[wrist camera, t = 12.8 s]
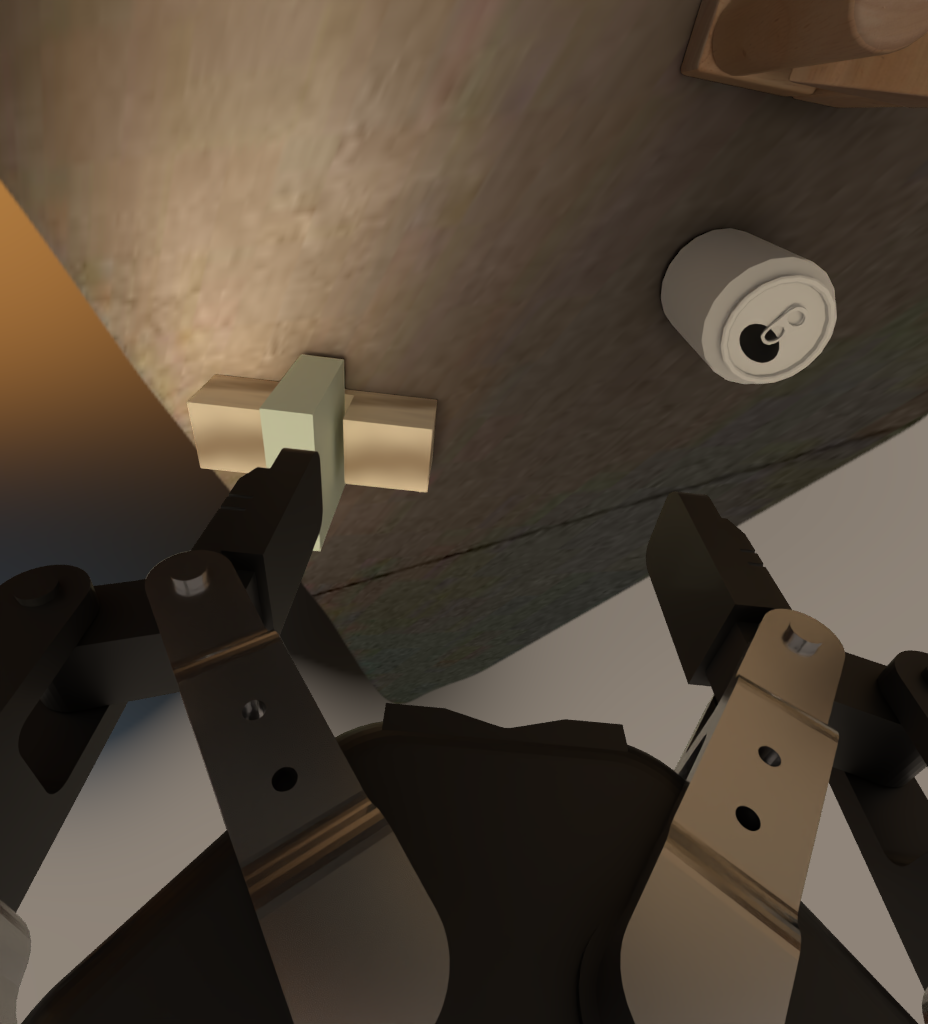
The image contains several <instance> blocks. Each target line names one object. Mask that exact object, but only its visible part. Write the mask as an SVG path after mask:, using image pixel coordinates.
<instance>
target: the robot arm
mask: <svg viewBox="0 0 928 1024" xmlns="http://www.w3.org/2000/svg"><path fill="white" fill-rule="evenodd" d="M322 517H323V501H322V483H321V465H320V456H319V453H318V452H317V451H310V450H301V449H292V448H283V449H282V450H281V451H280V453H279V455H278V456H277V458H276V460H275V461H274V463H273V464H272V466H271V468H262V467H256V468H255V469H253V470H252V471H250V472H249V473H247V474H246V475H244V476H243V477H241V478H240V479H239V480H238V481H237V483H236V484H235V486H234V487H233V489H232V490H231V492H230V493H229V497H227V498H226V499H225V501H224V502H223V503H222V505H221V509H219V510H218V511H217V513H216V514H215V516H214V517H213V518H212V520H211V521H210V523H209V524H208V526H207V527H206V529H205V530H204V532H203V533H202V535H201V536H200V538H199V539H198V541H197V542H196V544H195V545H194V547H193V548H192V550H191V551H187V552H182V553H178V554H176V555H173V556H171V557H169V558H166V559H165V560H163V561H161V562H160V563H159V564H157V565H156V566H155V567H154V568H153V569H152V570H151V571H150V573H149V574H148V575H147V577H146V579H143V580H138V581H131V582H122V583H114V584H106V585H98V586H93V585H92V582H91V580H90V577H89V576H88V574H87V573H86V572H85V571H84V570H82V569H80V568H78V567H74V566H70V565H49V566H44V567H39V568H35V569H31V570H29V571H26V572H23V573H21V574H18V575H16V576H14V577H13V578H11V579H9V580H7V581H6V582H4V583H3V584H2V585H0V1024H17V1018H16V1000H17V995H18V991H19V986H20V984H21V981H22V978H23V975H24V972H25V970H26V967H27V964H28V960H29V956H30V951H31V939H30V932H29V930H28V927H27V925H26V923H25V922H24V921H23V920H22V918H20V917H19V916H18V915H17V914H16V911H17V909H18V908H19V906H20V904H21V902H22V900H23V898H24V896H25V894H26V892H27V891H28V889H29V887H30V885H31V883H32V881H33V879H34V877H35V876H36V874H37V871H38V870H39V868H40V866H41V864H42V862H43V860H44V859H45V857H46V855H47V853H48V851H49V849H50V847H51V845H52V844H53V842H54V840H55V838H56V836H57V834H58V832H59V830H60V828H61V827H62V825H63V823H64V821H65V819H66V817H67V815H68V813H69V812H70V810H71V808H72V806H73V804H74V802H75V800H76V798H77V797H78V794H79V793H80V791H81V789H82V787H83V785H84V783H85V781H86V780H87V778H88V776H89V774H90V772H91V770H92V768H93V766H94V765H95V763H96V761H97V759H98V757H99V755H100V753H101V751H102V749H103V748H104V746H105V744H106V742H107V740H108V738H109V736H110V734H111V733H112V731H113V729H114V727H115V725H116V723H117V721H118V719H119V717H120V716H121V714H122V712H123V710H124V708H125V706H126V704H127V702H128V701H133V700H139V699H143V698H149V697H155V696H160V695H165V694H170V693H176V692H180V694H181V697H182V700H183V703H184V706H185V709H186V712H187V715H188V718H189V721H190V724H191V726H192V729H193V732H194V735H195V738H196V741H197V744H198V747H199V750H200V753H201V755H202V759H203V762H204V765H205V767H206V770H207V773H208V776H209V779H210V782H211V785H212V788H213V791H214V794H215V797H216V800H217V803H218V805H219V809H220V812H221V814H222V817H223V820H224V823H225V826H226V829H227V830H226V831H225V832H224V833H223V834H222V835H221V836H220V837H219V838H218V839H217V840H215V841H214V842H213V843H212V844H211V845H210V846H209V847H208V848H207V849H205V850H204V851H203V852H202V853H201V854H200V855H199V856H198V857H197V858H196V859H195V860H193V861H192V862H191V863H190V864H189V865H188V866H187V867H186V868H185V869H183V870H182V871H181V872H180V873H179V874H178V875H177V876H176V877H175V878H173V879H172V880H171V881H170V882H169V883H168V884H167V885H166V886H165V887H164V888H162V889H161V890H160V891H159V892H158V893H157V894H156V895H155V896H154V897H152V898H151V899H150V900H149V901H148V902H147V903H146V904H145V905H144V906H143V907H141V908H140V910H138V911H137V912H136V913H135V914H134V915H133V916H131V917H130V918H129V919H128V920H127V921H126V922H125V923H124V924H123V925H122V926H120V927H119V928H118V929H117V930H116V931H115V932H114V933H113V934H112V935H111V936H109V937H108V938H107V939H106V940H105V941H104V942H103V943H102V944H101V945H99V946H98V947H97V949H95V950H94V951H93V952H92V953H91V954H89V955H88V956H87V957H86V958H85V959H84V960H83V961H82V962H81V963H80V964H78V965H77V966H76V967H75V968H74V969H73V970H72V971H71V972H70V973H68V975H66V976H65V977H64V978H63V979H62V980H61V981H60V982H59V983H58V984H56V985H55V986H54V987H53V988H52V989H51V990H50V991H49V992H48V993H47V994H46V995H45V997H44V998H42V1000H41V1001H40V1002H39V1003H38V1004H37V1005H36V1006H35V1008H34V1009H33V1010H32V1011H31V1012H30V1013H29V1015H28V1016H27V1017H26V1018H25V1020H24V1021H23V1022H22V1023H21V1024H918V1023H917V1022H916V1021H915V1020H914V1019H913V1018H912V1017H911V1016H910V1014H909V1013H907V1011H906V1010H905V1009H904V1008H903V1007H902V1006H901V1005H900V1004H899V1003H898V1002H897V1001H896V1000H895V999H894V998H893V997H892V996H891V995H890V994H889V993H888V991H886V989H885V988H884V987H882V985H881V984H880V983H879V982H878V981H877V980H876V979H875V978H874V977H873V976H872V975H871V974H870V973H869V972H868V971H867V970H866V968H865V967H864V966H863V965H862V964H861V963H860V962H859V961H858V960H857V959H856V958H855V957H854V956H853V955H852V954H851V953H850V952H849V951H848V950H847V949H846V947H844V945H843V944H842V943H841V942H840V941H839V940H838V939H837V938H836V937H835V936H834V935H833V934H832V933H831V932H830V931H829V930H828V929H827V928H826V927H825V926H824V925H823V923H822V922H821V921H820V920H819V919H818V918H817V917H816V916H815V915H814V914H813V913H812V912H811V911H810V910H809V909H808V908H807V907H806V906H805V905H804V904H803V902H802V901H801V897H802V893H803V889H804V884H805V880H806V876H807V872H808V868H809V863H810V859H811V855H812V850H813V846H814V842H815V838H816V834H817V829H818V825H819V821H820V817H821V812H822V808H823V804H824V800H825V795H826V791H827V787H828V783H829V784H830V786H831V788H832V790H833V792H834V795H835V797H836V799H837V801H838V803H839V805H840V807H841V810H842V812H843V814H844V816H845V819H846V821H847V823H848V825H849V827H850V829H851V832H852V834H853V836H854V838H855V840H856V842H857V844H858V847H859V849H860V851H861V853H862V856H863V858H864V860H865V862H866V864H867V866H868V869H869V871H870V873H871V875H872V877H873V879H874V882H875V884H876V886H877V888H878V890H879V893H880V895H881V896H882V899H883V901H884V903H885V905H886V908H887V910H888V912H889V914H890V917H891V919H892V921H893V923H894V925H895V927H896V929H897V932H898V934H899V936H900V938H901V940H902V943H903V945H904V947H905V949H906V951H907V953H908V956H909V958H910V960H911V962H912V964H913V967H914V969H915V971H916V973H917V975H918V977H919V979H920V982H921V984H922V986H923V988H924V990H925V993H924V995H923V1001H922V1011H923V1018H924V1023H925V1024H928V800H927V798H926V796H925V795H924V793H923V791H922V789H921V788H920V786H919V784H918V783H917V781H916V779H915V776H916V775H917V774H918V773H919V772H921V771H922V770H923V769H924V768H925V767H928V653H924V652H920V651H904V652H901V653H899V654H898V655H897V656H896V657H895V658H894V659H893V660H892V661H891V662H890V664H889V665H888V666H885V665H882V664H879V663H876V662H873V661H870V660H867V659H864V658H861V657H858V656H855V655H852V654H849V653H846V652H845V651H844V648H843V645H842V644H841V642H840V640H839V639H838V638H837V637H836V635H835V634H834V633H833V632H832V631H831V630H830V629H829V628H827V627H826V626H825V625H824V624H822V623H820V622H819V621H818V620H816V619H814V618H812V617H810V616H808V615H806V614H803V613H801V612H798V611H794V610H792V609H791V607H790V606H789V604H788V603H787V601H786V599H785V598H784V596H783V595H782V593H781V591H780V590H779V588H778V586H777V585H776V583H775V582H774V580H773V578H772V577H771V575H770V574H769V572H768V570H767V569H766V567H763V562H762V561H761V559H760V558H759V556H758V554H756V553H755V549H754V548H753V546H752V545H751V543H750V541H749V540H748V538H747V537H746V535H745V534H744V533H743V532H742V531H741V530H740V529H738V528H737V527H736V526H735V525H734V524H733V523H732V522H730V521H729V520H728V519H725V518H721V516H720V515H719V513H718V511H717V509H716V508H715V506H714V504H713V503H712V501H711V499H710V498H709V497H708V496H707V495H703V494H693V493H684V492H675V491H674V492H671V493H670V494H669V495H668V497H667V499H666V501H665V503H664V506H663V508H662V511H661V513H660V516H659V518H658V520H657V523H656V525H655V528H654V530H653V533H652V535H651V538H650V540H649V543H648V546H647V551H646V566H647V570H648V573H649V576H650V578H651V581H652V584H653V587H654V590H655V592H656V595H657V598H658V601H659V603H660V606H661V609H662V611H663V615H664V617H665V620H666V623H667V626H668V629H669V631H670V634H671V637H672V640H673V643H674V645H675V648H676V651H677V654H678V656H679V659H680V662H681V665H682V667H683V670H684V673H685V676H686V679H687V682H688V684H693V685H704V686H711V687H712V690H713V692H714V695H713V697H712V698H711V700H710V702H709V703H708V704H707V706H706V708H705V710H704V712H703V714H702V716H701V718H700V720H699V722H698V724H697V726H696V728H695V730H694V732H693V734H692V736H691V738H690V740H689V742H688V744H687V746H686V748H685V750H684V752H683V754H682V756H681V758H680V760H679V762H678V764H677V766H676V768H675V770H672V769H671V768H670V767H668V766H667V765H665V764H664V763H662V762H661V761H660V760H658V759H656V758H654V757H653V756H651V755H649V754H647V753H646V752H643V751H641V750H639V749H637V748H635V747H632V746H629V745H627V743H626V738H625V734H624V730H623V725H620V724H610V723H599V722H588V721H577V720H558V721H552V722H546V723H540V724H534V725H527V726H521V727H514V728H503V727H499V726H496V725H492V724H490V723H487V722H484V721H481V720H478V719H474V718H472V717H469V716H466V715H463V714H460V713H457V712H454V711H451V710H448V709H445V708H434V707H424V706H412V705H402V704H391V703H386V707H385V713H384V719H383V722H377V723H372V724H368V725H364V726H361V727H357V728H355V729H353V730H350V731H348V732H345V733H343V734H341V735H339V736H337V737H334V735H333V734H332V732H331V730H330V728H329V726H328V725H327V722H326V721H325V719H324V717H323V715H322V713H321V711H320V710H319V708H318V706H317V704H316V702H315V700H314V698H313V697H312V695H311V693H310V691H309V689H308V687H307V685H306V684H305V682H304V680H303V678H302V676H301V675H300V673H299V671H298V669H297V667H296V665H295V663H294V661H293V660H292V658H291V656H290V654H289V652H288V650H287V649H286V647H285V645H284V644H283V641H282V639H281V638H280V636H279V635H280V633H281V630H282V628H283V625H284V622H285V620H286V617H287V614H288V612H289V610H290V607H291V605H292V602H293V599H294V597H295V594H296V592H297V589H298V587H299V584H300V582H301V579H302V577H303V574H304V571H305V569H306V566H307V564H308V561H309V559H310V556H311V554H312V551H313V549H314V546H315V543H316V541H317V538H318V536H319V533H320V529H321V524H322Z"/></svg>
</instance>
